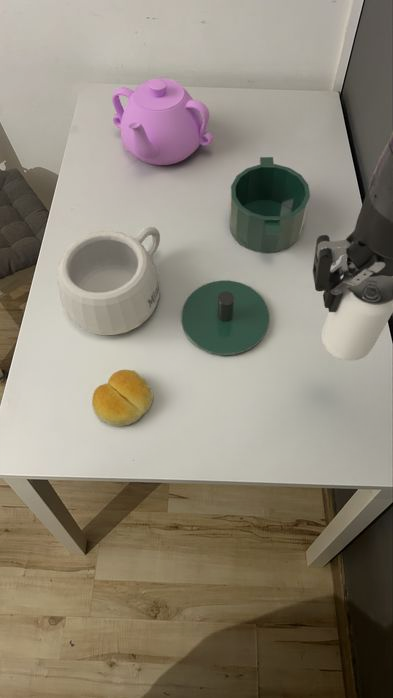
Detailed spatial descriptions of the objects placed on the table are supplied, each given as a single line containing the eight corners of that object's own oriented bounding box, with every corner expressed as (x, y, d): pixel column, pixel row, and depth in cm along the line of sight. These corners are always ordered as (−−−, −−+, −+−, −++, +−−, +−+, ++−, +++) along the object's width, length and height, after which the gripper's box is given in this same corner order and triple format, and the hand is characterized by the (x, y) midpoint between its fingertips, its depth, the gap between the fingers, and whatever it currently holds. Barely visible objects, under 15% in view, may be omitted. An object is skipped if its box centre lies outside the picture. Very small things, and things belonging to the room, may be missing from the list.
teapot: (91, 176, 102) (75, 115, 90) (131, 111, 112) (121, 48, 100) (193, 198, 98) (190, 138, 86) (224, 129, 108) (226, 66, 96)
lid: (265, 283, 88) (269, 261, 82) (271, 356, 81) (275, 337, 75) (182, 284, 88) (181, 262, 83) (180, 357, 81) (178, 337, 76)
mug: (117, 358, 81) (106, 325, 72) (45, 308, 86) (26, 271, 78) (197, 273, 89) (195, 235, 81) (126, 232, 95) (118, 191, 86)
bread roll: (84, 404, 77) (78, 393, 74) (128, 367, 80) (124, 355, 77) (118, 440, 74) (113, 430, 71) (163, 400, 77) (160, 390, 74)
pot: (297, 188, 99) (304, 153, 92) (306, 264, 90) (315, 231, 82) (228, 189, 99) (229, 154, 92) (230, 265, 90) (232, 232, 83)
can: (317, 357, 62) (339, 301, 52) (323, 314, 65) (344, 254, 55) (371, 367, 61) (403, 312, 51) (373, 323, 64) (405, 263, 54)
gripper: (335, 227, 40) (302, 334, 55) (515, 224, 40) (434, 332, 55) (323, 164, 44) (295, 280, 59) (488, 160, 44) (418, 278, 58)
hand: (362, 305), depth 57 cm, fingers closed on can, 6 cm apart
